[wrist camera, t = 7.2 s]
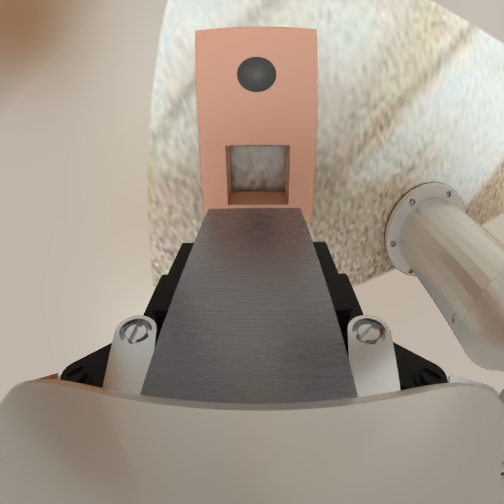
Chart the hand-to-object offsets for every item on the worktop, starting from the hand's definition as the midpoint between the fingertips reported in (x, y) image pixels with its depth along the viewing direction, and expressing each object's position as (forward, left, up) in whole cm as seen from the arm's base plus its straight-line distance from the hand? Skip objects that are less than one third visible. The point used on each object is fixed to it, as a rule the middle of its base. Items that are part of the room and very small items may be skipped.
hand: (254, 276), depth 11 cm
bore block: (+3, -3, -19) cm, 20 cm away
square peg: (0, 0, -2) cm, 2 cm away
